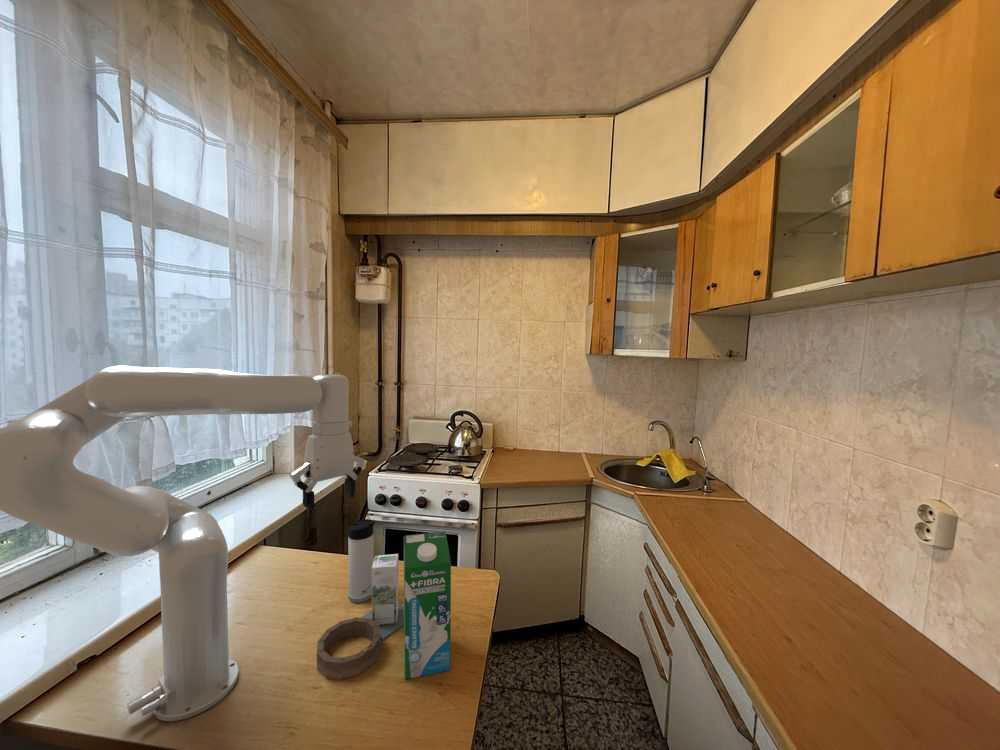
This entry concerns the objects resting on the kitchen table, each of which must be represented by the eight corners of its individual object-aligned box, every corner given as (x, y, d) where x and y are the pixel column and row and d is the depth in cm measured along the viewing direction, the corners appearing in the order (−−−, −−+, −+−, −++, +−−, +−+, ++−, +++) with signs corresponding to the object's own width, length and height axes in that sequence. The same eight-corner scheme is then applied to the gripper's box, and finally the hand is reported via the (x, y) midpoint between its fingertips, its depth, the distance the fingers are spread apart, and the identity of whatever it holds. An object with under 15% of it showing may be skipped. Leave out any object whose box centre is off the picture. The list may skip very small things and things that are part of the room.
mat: (382, 640, 83) (382, 639, 83) (356, 621, 89) (356, 620, 89) (416, 615, 91) (416, 614, 91) (390, 599, 97) (390, 598, 97)
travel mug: (370, 603, 96) (369, 527, 95) (344, 603, 96) (343, 527, 95) (378, 588, 102) (378, 517, 101) (354, 588, 102) (354, 516, 101)
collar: (338, 690, 71) (338, 671, 71) (305, 658, 78) (305, 641, 78) (392, 649, 81) (392, 632, 81) (358, 624, 88) (358, 609, 88)
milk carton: (404, 680, 73) (404, 556, 72) (403, 645, 82) (403, 535, 81) (450, 670, 76) (451, 550, 74) (445, 637, 84) (445, 530, 83)
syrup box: (398, 608, 94) (398, 552, 93) (396, 625, 88) (396, 565, 87) (375, 610, 92) (374, 554, 92) (371, 628, 87) (371, 567, 86)
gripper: (355, 421, 95) (354, 488, 95) (283, 431, 81) (283, 509, 81) (373, 425, 90) (372, 495, 91) (299, 436, 76) (299, 518, 77)
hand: (330, 501), depth 86 cm, fingers open, 9 cm apart
